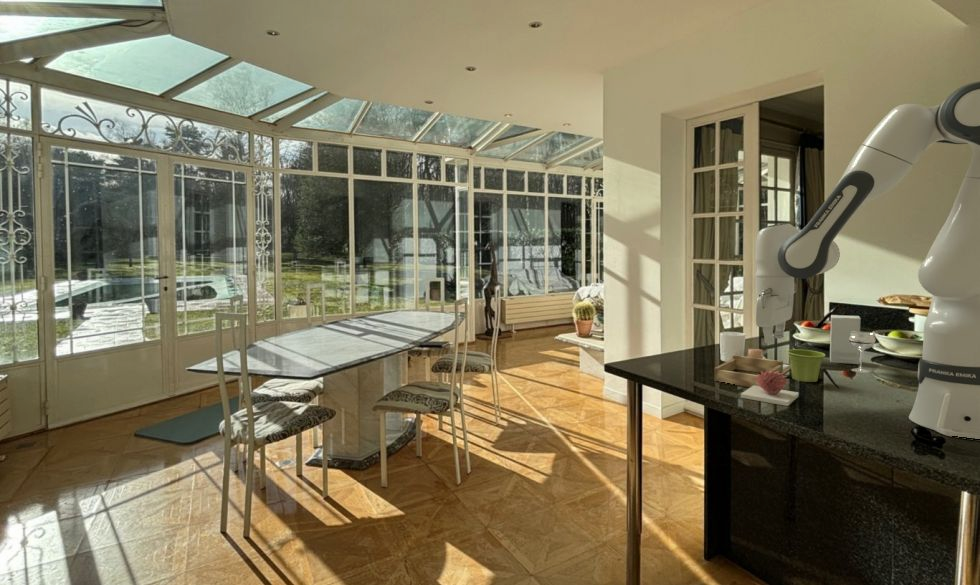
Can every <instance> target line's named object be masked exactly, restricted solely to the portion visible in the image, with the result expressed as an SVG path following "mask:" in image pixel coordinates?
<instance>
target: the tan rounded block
mask: <svg viewBox="0 0 980 585" xmlns="http://www.w3.org/2000/svg"><path fill="white" fill-rule="evenodd" d="M763 355H764V350H763V349H761V348H747V356H746V357H752V358H760V359H764V358H763V357H764V356H763Z"/></svg>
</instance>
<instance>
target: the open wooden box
mask: <svg viewBox="0 0 980 585" xmlns="http://www.w3.org/2000/svg"><path fill="white" fill-rule="evenodd" d="M783 363H784V361H782V360H777V359H776V360H775V359H768V358H767V359H766V358H763V359H760V358H752V357H747V356H745V355H744V356H737V355H733V359H731V360H729V361H727V362H725V361H724V363H721V364H720V365H718V366H715V367H713V368H714V371H713V382H715V381H719V382H718V383H721V382H725V383H724V384H727V383H730V384H729V385H733V384H735V385H734V386H739V385H740V386H741V387H745V388H746V387H747V388H750V387H752V386H753V385H755V386H758V385H757V384H756V383H757V382H756V381H754V380H757V379H756V378H755V377H758V375H757V374H751V373H746V372H747V371H748V372H753V373H758V374H761V371H762V372H763V373H765V372H766V370H768V372H770V371H772V370H773V372H777V371H779V372H778V373H779V374H782V373H783ZM735 370H740V371H746V372H745V373H744V372H737V371H735Z"/></svg>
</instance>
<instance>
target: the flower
mask: <svg viewBox="0 0 980 585" xmlns="http://www.w3.org/2000/svg"><path fill="white" fill-rule="evenodd" d="M778 372H779V371H777V372H773V370H772V371H770V372H768V370H766V372H765V373H763V372H762V371H761V373H757V374H756V375H758V377H755V378H756V379H757V380H754V381H756V382H757V383H756V384H757V385H758V386H759V387H761V388H763V390H764V391H767V392H768V393H771V394H774V393H775V394H776V393H779V392H780V391H781V390H784V388H786V385H788V384H789V383H788V382H786V381H789V379H787V377H788V376H787V375H786V376H785V374H784V373H782V374H779V373H778Z"/></svg>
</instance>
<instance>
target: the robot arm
mask: <svg viewBox="0 0 980 585" xmlns="http://www.w3.org/2000/svg"><path fill="white" fill-rule="evenodd" d="M935 143H943V144H944V143H945V144H953V145H965V144H966V145H967V144H968V145H969V147H970V150H971V160H970V163H969V166H968V168H967V171H966V173H965V176H964V178H963V180H962V184H961V185H960V188H959V191H958V194H957V196H956V197H955V199H954V202H953V205H952V208H951V210H950V211H949V212H950V213H949V215H948V217H947V218H946V220H945V222H944V224H943V226H942V227H941V229H940V230H939V232H938V234H937V235H936V236H935V237H936V238H935V239H934V241H933V243H932V245H931V247H930V249H929V251H928V253H927V254H926V257H925V258H924V260H923V261H922V263H921V264H920V266H919V268H918V272H917V273H918V274H917V277H918V282H919V284H920V285H921V287H922V288H923V290H925V291H926V292H927V293H929V294H930V295H932V297H931V302H930V305H929V309H928V314H927V316H926V319H925V321H924V325H923V337H922V338H923V340H922V341H923V342H922V353H921V355H922V356H921V357H920V358H919V361H918V366H917V367H918V368H917V380H918V381H917V382H918V388H917V392H916V397H915V401H914V404H913V406H912V409H911V411H910V413H909V416H908V419H909V420H910V421H911V422H913V423H915V424H917V425H918V426H919V425H920V426H921V427H924V428H927V429H930V430H934V431H935V432H938V433H939V434H942V435H944V436H947V437H952V436H958V437H957V438H959V437H967V438H975V439H980V81H974V82H970V83H968V84H965V85H963V86H961V87H959V88H957V89H956V90H954V91H953V92H952V93H950V95H948V96H947V97H946V98H945V100H944V101H942V102H941V103H940V104H937V105H935V106H925V105H923V104H918V103H903V104H900V105H897V106H895V107H893V108H892V109H891V110H890V111H889V112H888V113H887V114H886V115H885V116H884V117H883V118H882V119H881V121H880V122H878V124H877V125H876V126H875V127H874V128H873V129H872V130H871V132H870V133H869V134H868V136H867V137H866V138H865V139H864V141H863V142H862V143H861V145H860V146H859V148H858V149H857V151H855V153H854V155H853V157H852V158H851V160H850V162H849V164H848V165H847V167H846V168H845V170H844V172H843V174H842V176H841V177H840V179H839V180H838V183H836V185H835V187H834V189H832V190H833V191H831V193H830V194H829V196H828V197H827V198H826V199H825V200H824V202H823V204H822V205H821V206H820V207H819V208H818V210H817V211H816V212H815V213H814V215H813V216H812V217H811V219H810V220H809V221H808V222H807V224H806V225H805V226H804V227H803V228H802V229H799V228H797V227H795V226H794V225H792V224H791V223H788V222H782V223H777V224H770V225H767V226H765V227H763V228H761V229H759V231H758V233H757V236H756V239H755V252H754V253H755V254H754V255H755V256H754V257H755V258H754V260H755V264H756V272H755V274H754V276H755V277H754V282H755V283H754V287H755V288H754V290H755V291H754V293H755V295H758V297H757V299H756V305H755V306H756V307H755V325H756V327H760V328H762V332H763V337H764V343H765V344H766V345H767V344H770V345H771V344H773V343H774V342H775V341H774V340H775V339H784V337H785V328H786V322H787V321H789V320H791V319H792V316H793V310H794V295H795V293H797V284H796V283H795V279H802V280H803V279H809V278H812V277H814V276H816V275H820V274H821V275H822V274H825V273H827V272H829V271H830V270H832V269H833V268H834V267H835V266H836V265H837V264H838V262H839V260H840V248H839V246H838V245H837V243H836V242H835V241H834V240H835V238H837V236H839V235H838V234H840V233H841V231H842V230H843V229H844V227H845V226H846V225H847V223H848V222H849V221H850V220H851V218H852V217H853V216H854V215H855V214H856V213H857V211H858V210H859V209H861V208H862V207H863V206H864V205H865V204H866V205H867V203H869V202H871V201H872V200H875V199H876V198H878V197H881V196H883V195H886V194H887V193H889V192H891V191H892V190H894V189H895V187H896V186H898V184H900V182H901V181H902V180H903V179H904V178H905V177H906V176H907V175H908V174H909V173H910V171H911V170H912V168H913V167H914V166H915V165H916V163H917V162H918V160H919V159H920V158H921V157H922V156H923V154H924V153H925V151H927V149H929V148H930V147H931V146H932V145H934V144H935ZM759 295H760V296H759ZM774 327H775V331H774ZM773 331H774V333H773Z"/></svg>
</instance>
